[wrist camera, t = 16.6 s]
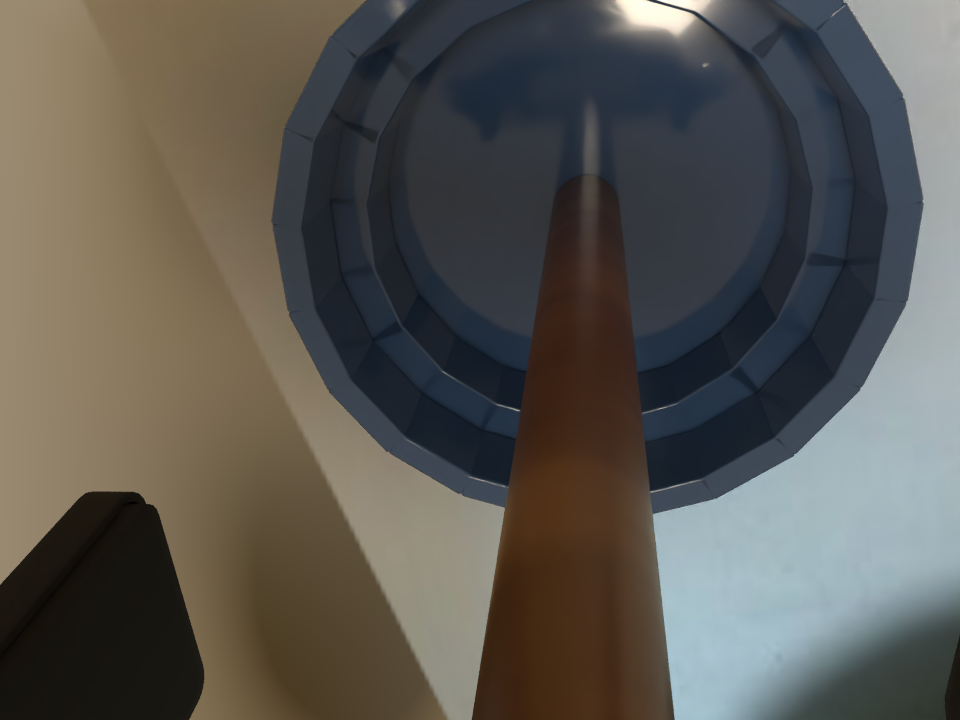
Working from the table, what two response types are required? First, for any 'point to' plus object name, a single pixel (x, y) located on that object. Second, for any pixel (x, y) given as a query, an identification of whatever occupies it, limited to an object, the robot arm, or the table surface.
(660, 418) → the mixing bowl
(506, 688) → the cooking stick
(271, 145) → the table surface
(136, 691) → the robot arm
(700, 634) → the table surface
